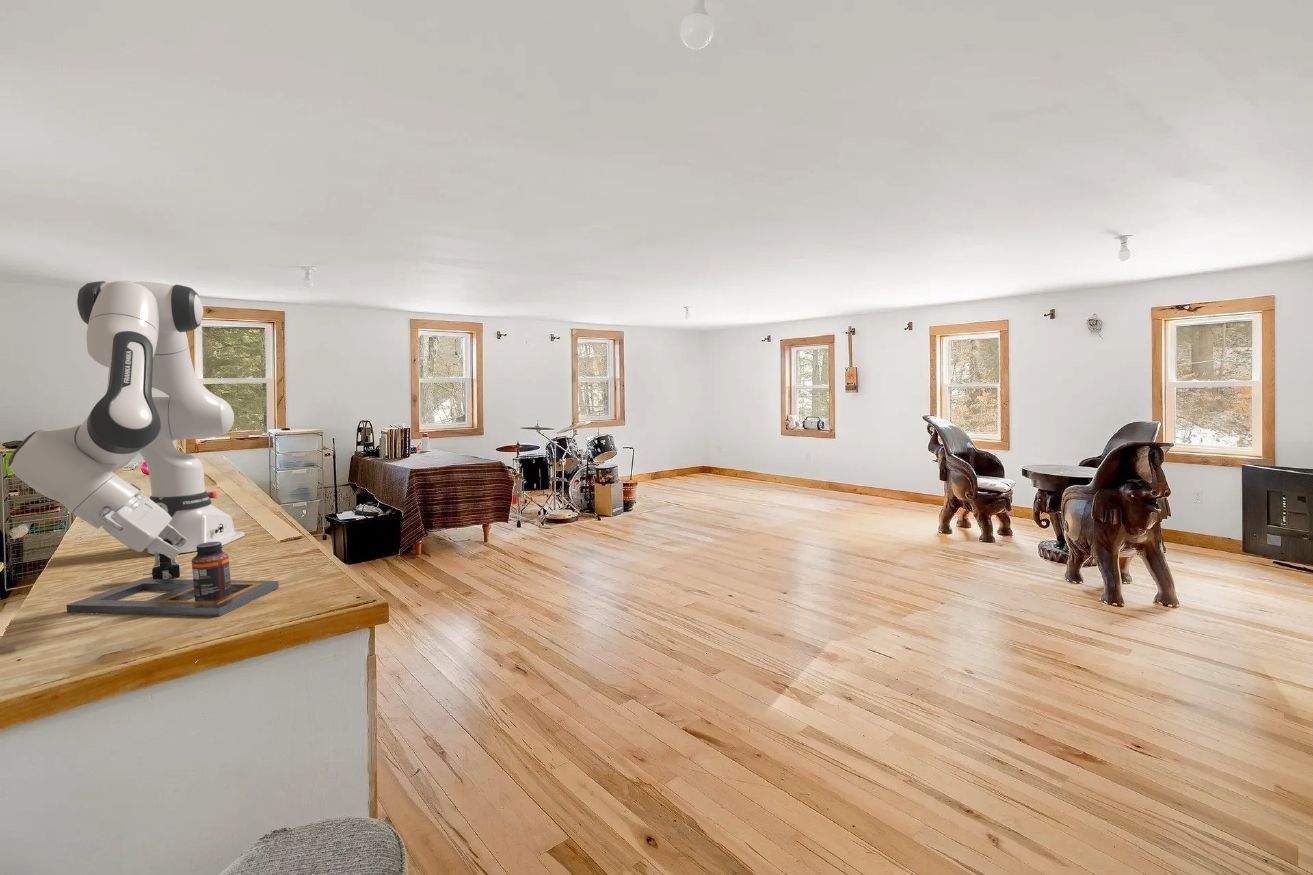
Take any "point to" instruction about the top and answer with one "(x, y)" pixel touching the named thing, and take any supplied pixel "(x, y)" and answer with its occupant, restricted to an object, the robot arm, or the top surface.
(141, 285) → the robot arm
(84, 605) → the grey rectangular frame
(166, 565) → the push button
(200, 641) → the top surface
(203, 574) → the supplement bottle
